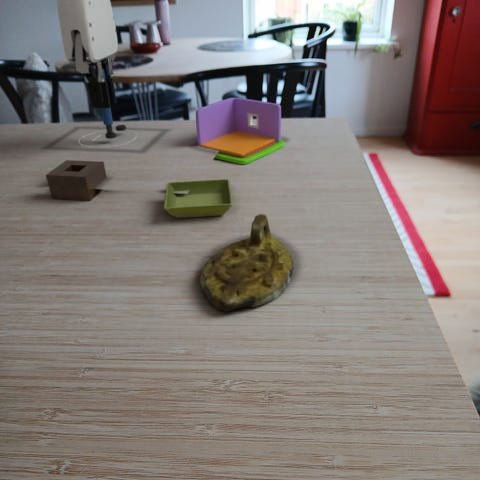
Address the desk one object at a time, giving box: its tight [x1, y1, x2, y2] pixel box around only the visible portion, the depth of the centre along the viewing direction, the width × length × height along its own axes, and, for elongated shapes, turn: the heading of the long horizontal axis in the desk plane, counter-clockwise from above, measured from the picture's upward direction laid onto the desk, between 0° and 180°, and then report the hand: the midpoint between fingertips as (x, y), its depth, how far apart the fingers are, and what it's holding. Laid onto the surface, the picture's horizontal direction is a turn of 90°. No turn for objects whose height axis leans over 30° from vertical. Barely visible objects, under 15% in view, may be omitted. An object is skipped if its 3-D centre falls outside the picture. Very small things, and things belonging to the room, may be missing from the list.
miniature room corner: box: [195, 97, 286, 165], centre depth 86 cm, size 12×12×7 cm
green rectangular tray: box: [163, 178, 234, 219], centre depth 68 cm, size 9×9×2 cm
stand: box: [45, 159, 108, 202], centre depth 74 cm, size 6×6×4 cm
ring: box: [77, 128, 138, 149], centre depth 92 cm, size 18×12×1 cm, turn 77°
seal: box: [199, 213, 294, 312], centre depth 53 cm, size 9×5×15 cm
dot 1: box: [104, 131, 117, 140], centre depth 89 cm, size 2×2×1 cm
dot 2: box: [115, 124, 127, 132], centre depth 92 cm, size 2×2×1 cm
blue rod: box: [95, 69, 114, 134], centre depth 86 cm, size 2×2×10 cm
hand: (104, 105), depth 86 cm, fingers closed on blue rod, 1 cm apart
